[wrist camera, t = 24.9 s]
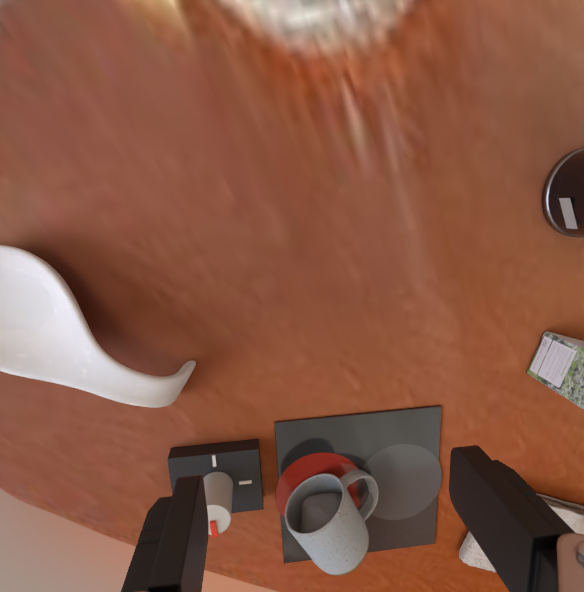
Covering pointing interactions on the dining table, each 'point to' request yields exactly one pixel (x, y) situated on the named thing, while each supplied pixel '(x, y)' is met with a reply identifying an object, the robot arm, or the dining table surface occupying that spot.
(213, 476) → the hob knob
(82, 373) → the spoon rest
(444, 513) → the dining table surface
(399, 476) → the hob
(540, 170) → the dining table surface
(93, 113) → the dining table surface
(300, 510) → the ceramic mug
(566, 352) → the syrup box
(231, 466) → the control box
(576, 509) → the washcloth
